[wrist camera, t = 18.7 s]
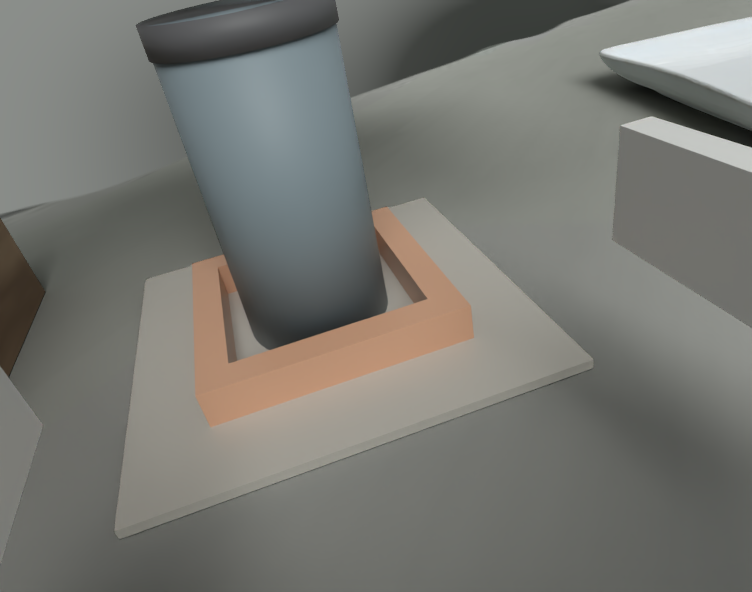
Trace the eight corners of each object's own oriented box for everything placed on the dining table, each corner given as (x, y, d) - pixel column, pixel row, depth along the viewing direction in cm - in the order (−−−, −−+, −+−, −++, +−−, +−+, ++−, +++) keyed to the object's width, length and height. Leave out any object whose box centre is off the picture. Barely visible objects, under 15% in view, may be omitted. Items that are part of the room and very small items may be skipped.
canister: (257, 376, 21) (126, 35, 14) (243, 295, 26) (142, 16, 19) (410, 327, 22) (353, -14, 15) (368, 258, 27) (312, -20, 20)
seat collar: (119, 539, 16) (90, 500, 15) (148, 285, 30) (134, 254, 29) (593, 367, 19) (595, 324, 18) (425, 203, 32) (420, 172, 31)
